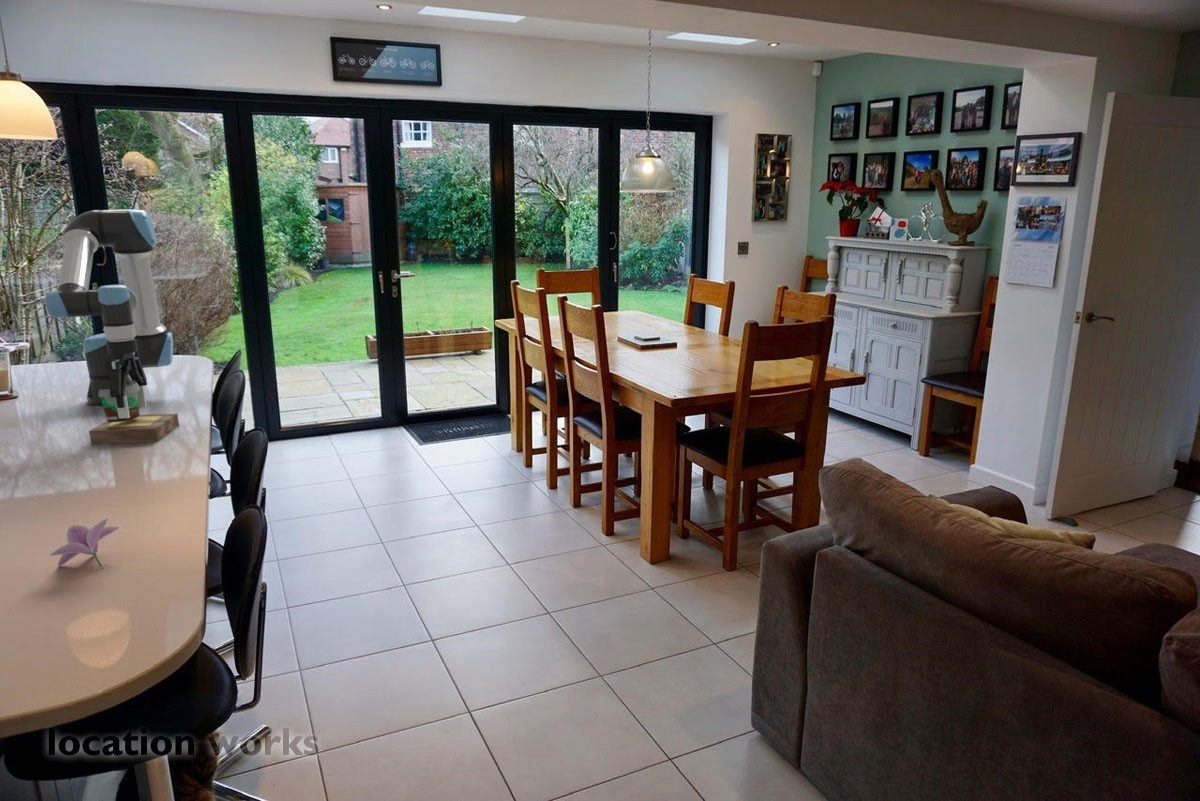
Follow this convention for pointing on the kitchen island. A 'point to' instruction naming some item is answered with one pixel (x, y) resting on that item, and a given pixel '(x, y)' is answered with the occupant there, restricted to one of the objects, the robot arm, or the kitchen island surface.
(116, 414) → the food container
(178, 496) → the kitchen island surface
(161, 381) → the kitchen island surface
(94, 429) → the plate
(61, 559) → the lily
